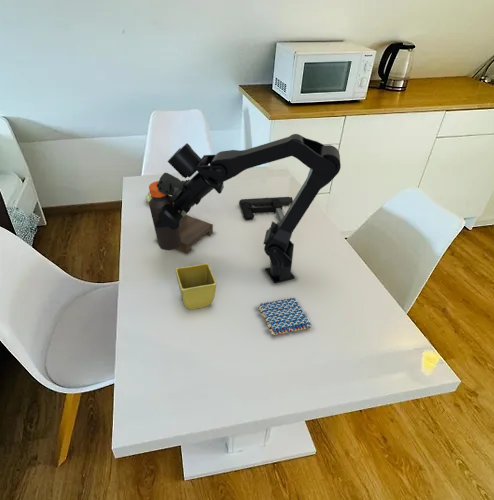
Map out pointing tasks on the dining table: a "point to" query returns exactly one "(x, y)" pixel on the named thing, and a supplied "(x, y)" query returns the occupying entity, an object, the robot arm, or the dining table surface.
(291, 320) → the woven mat
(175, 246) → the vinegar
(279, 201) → the black toy gun
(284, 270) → the robot arm
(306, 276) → the dining table surface
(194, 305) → the flower pot
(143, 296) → the dining table surface
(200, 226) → the brown wooden stand
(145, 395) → the dining table surface
